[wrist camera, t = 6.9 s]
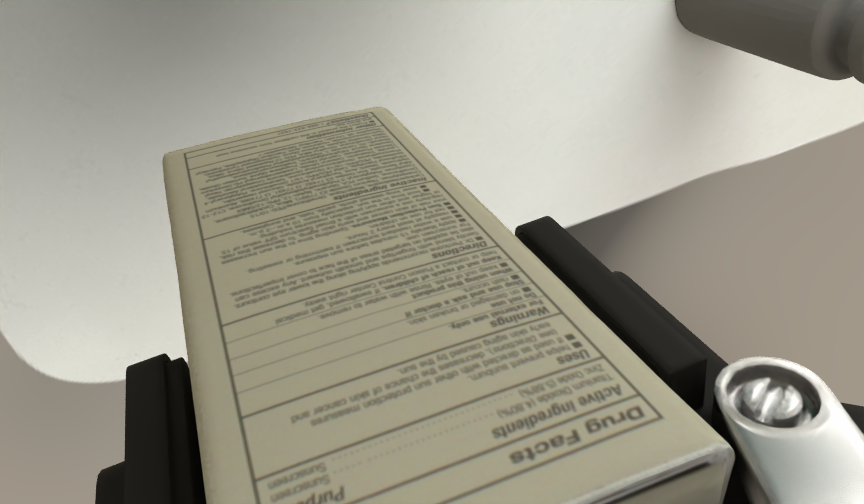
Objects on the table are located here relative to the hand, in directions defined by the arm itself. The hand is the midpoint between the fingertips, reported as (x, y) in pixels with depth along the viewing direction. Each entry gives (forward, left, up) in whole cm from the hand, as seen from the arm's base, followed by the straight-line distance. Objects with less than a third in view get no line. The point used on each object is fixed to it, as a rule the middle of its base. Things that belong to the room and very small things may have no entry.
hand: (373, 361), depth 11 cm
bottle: (+6, +29, -28) cm, 41 cm away
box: (0, 0, -6) cm, 6 cm away
